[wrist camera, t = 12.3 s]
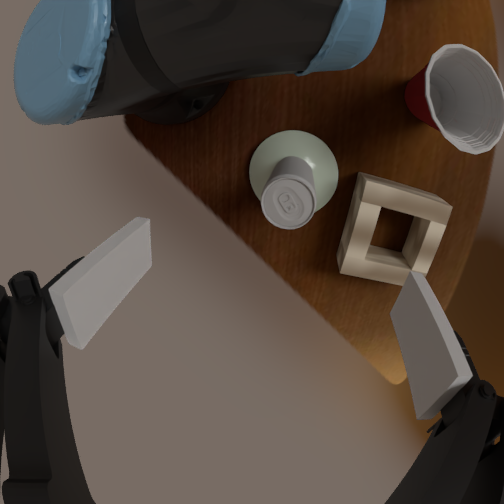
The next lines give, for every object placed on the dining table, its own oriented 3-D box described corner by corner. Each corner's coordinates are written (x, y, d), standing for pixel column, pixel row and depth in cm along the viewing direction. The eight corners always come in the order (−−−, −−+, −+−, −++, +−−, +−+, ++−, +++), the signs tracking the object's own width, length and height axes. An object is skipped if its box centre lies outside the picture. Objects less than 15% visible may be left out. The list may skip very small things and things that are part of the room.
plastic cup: (448, 152, 28) (499, 172, 18) (378, 123, 29) (414, 128, 19) (463, 82, 23) (516, 78, 13) (394, 47, 24) (432, 23, 13)
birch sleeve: (358, 171, 33) (366, 180, 28) (436, 195, 31) (452, 207, 27) (336, 254, 38) (339, 273, 34) (409, 270, 37) (419, 288, 33)
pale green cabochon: (256, 123, 32) (255, 123, 31) (345, 140, 31) (346, 141, 30) (245, 205, 37) (244, 207, 36) (326, 221, 36) (327, 224, 35)
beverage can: (286, 199, 35) (278, 240, 25) (266, 167, 33) (248, 193, 23) (319, 181, 33) (327, 214, 23) (299, 148, 32) (298, 164, 21)
